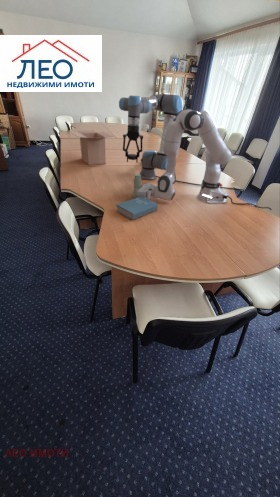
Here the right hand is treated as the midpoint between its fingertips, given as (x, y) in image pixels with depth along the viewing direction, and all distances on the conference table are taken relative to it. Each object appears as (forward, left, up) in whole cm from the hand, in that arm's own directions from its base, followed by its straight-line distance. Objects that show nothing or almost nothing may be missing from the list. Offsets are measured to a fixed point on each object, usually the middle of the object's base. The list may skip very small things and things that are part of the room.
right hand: (135, 187), depth 166 cm
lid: (+3, -1, +23) cm, 23 cm away
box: (+43, -87, -6) cm, 97 cm away
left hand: (+4, -1, +18) cm, 19 cm away
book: (-1, +26, -6) cm, 27 cm away
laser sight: (-19, -86, -6) cm, 89 cm away
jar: (-1, 0, -6) cm, 6 cm away
